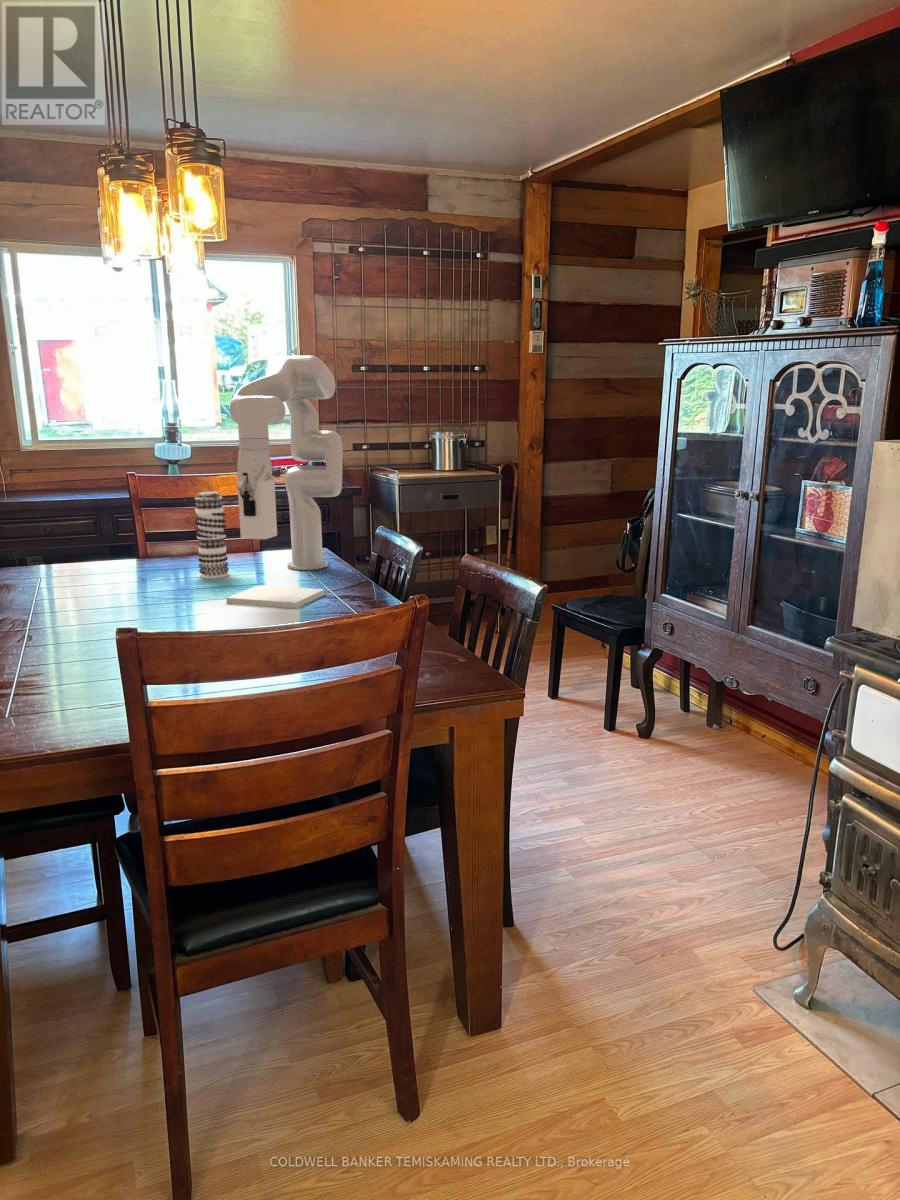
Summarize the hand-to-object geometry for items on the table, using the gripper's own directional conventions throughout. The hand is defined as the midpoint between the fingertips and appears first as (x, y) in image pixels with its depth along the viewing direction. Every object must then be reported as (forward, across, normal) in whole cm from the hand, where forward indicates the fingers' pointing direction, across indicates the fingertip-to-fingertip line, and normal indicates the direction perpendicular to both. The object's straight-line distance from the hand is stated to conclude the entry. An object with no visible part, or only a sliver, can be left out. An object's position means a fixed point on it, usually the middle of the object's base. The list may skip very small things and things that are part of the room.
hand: (258, 513), depth 215 cm
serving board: (+22, +2, +6) cm, 23 cm away
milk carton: (+7, 0, 0) cm, 7 cm away
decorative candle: (+22, -20, -29) cm, 42 cm away
